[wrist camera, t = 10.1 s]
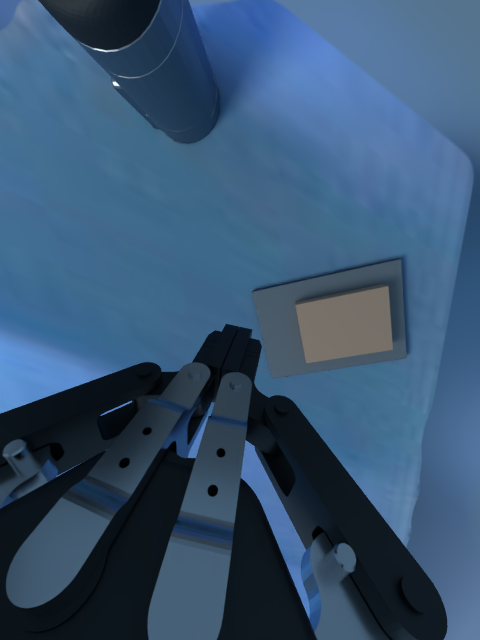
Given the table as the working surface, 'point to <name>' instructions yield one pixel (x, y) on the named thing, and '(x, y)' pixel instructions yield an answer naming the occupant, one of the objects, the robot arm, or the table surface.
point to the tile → (345, 324)
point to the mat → (280, 300)
